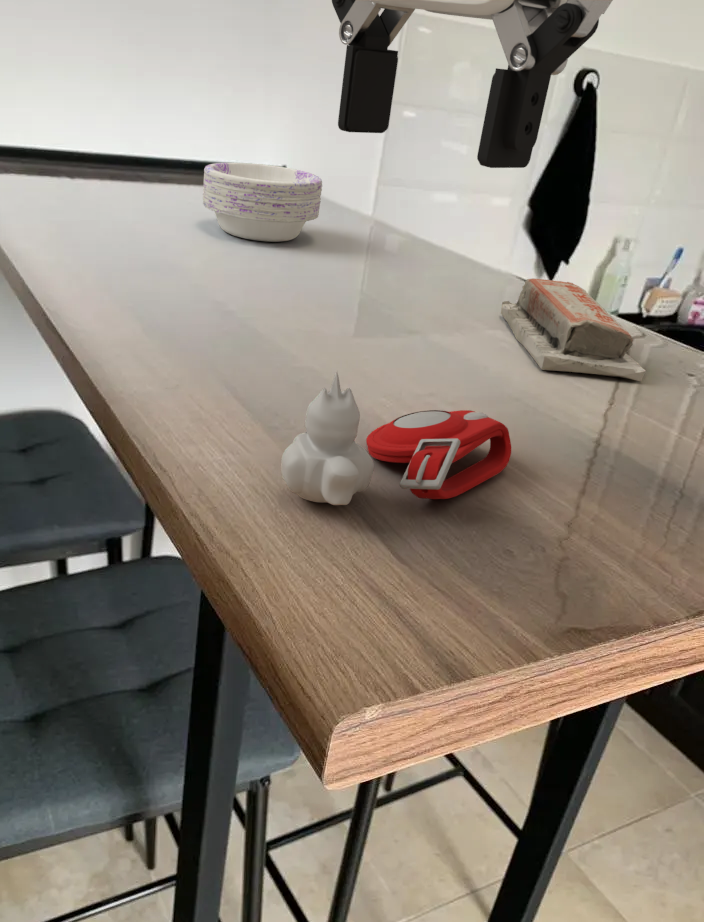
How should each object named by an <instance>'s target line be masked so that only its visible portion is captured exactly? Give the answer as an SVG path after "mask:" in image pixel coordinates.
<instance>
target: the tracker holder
mask: <svg viewBox="0 0 704 922" xmlns="http://www.w3.org/2000/svg"><path fill="white" fill-rule="evenodd" d="M365 441H366V446H367V452H368V454H369V455H370V457H371V458H374V459H376V460H379V461H381V462H387V463H397V464H408V465H407V467H406V469H405V472H404V474H403V475H402V478H401V480H400V482H399V487H400V488H401V489H405V490H410V492H411V494H413V495H414V496H415V497H416V498H418V499H427V500H448V499H451V498H455V497H458V496H460V495H462V494H464V493H466V492H468V491H469V490H471V489H473V488H474V487H476V486H479V485H480V484H482V483H484V482H485V481H487V480H490V479H492V478H493V477H495V476H497V475H498V474H500V473H501V472H503V471H504V469H505V468H506V467H507V466H508V464H509V462H510V459H511V455H512V441H511V437H510V431H509V428H508V427H507V426H506V425H505V424H504V423H502V422H501V421H498V420H496V419H494V418H492V417H489V415H488V414H486V413H484V412H481V411H475V410H470V409H469V410H467V409H466V410H465V409H463V410H451V411H447V410H441V409H440V410H436V409H432V410H421V411H416V412H411V413H407V414H404V415H402V416H399V417H397V418H395V419H393V420H392V421H390V422H388V423H385V424H383V425H381V426H379V427H376V428H375V429H373V430H372V431H371V432H370V433H369V434H368V435H367V437H366V440H365ZM487 441H489V450H488V453H487V454H486V456H485V457H484V458H482V459H481V460H478V461H477V462H475V463H474V464H472V465H470V466H468V467H466V468H464V469H463V470H461V471H459V472H457V473H455V474H453V475H452V476H449V477H448V478H446V477H447V475H448V472H449V470H450V468H451V465H452V464H454V463H456V462H457V461H459V460H461V459H463V458H464V457H465V456H467V455H468V454H470V453H471V452H473V451H474V450H476V449H477V448H478V447H480V446H482V445H483V444H484V443H486V442H487Z"/></svg>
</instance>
